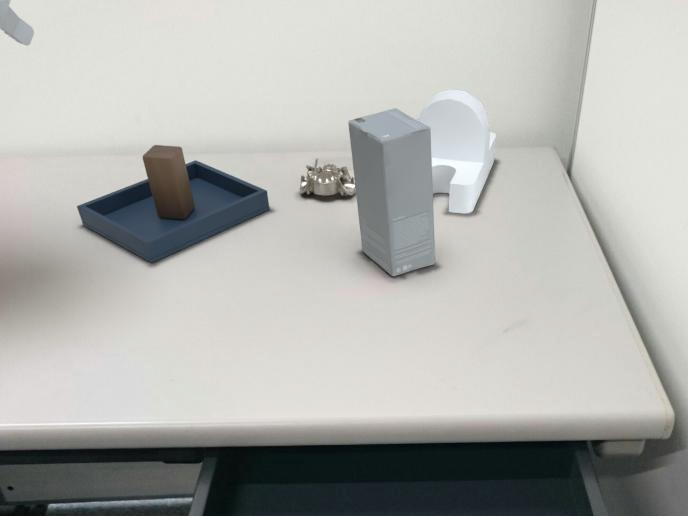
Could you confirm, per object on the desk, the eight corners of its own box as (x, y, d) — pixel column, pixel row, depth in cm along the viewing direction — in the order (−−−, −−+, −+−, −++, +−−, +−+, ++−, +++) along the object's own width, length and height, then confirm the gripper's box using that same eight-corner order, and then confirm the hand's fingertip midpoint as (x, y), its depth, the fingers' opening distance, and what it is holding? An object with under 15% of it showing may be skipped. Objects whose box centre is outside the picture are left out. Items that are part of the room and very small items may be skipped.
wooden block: (168, 205, 100) (153, 143, 94) (196, 207, 99) (182, 145, 93) (157, 218, 97) (140, 155, 91) (185, 221, 97) (170, 157, 91)
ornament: (359, 182, 106) (358, 156, 103) (352, 203, 101) (350, 176, 99) (305, 180, 106) (302, 154, 104) (296, 201, 102) (293, 174, 99)
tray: (83, 225, 98) (76, 205, 96) (199, 178, 107) (195, 159, 105) (152, 263, 91) (146, 243, 89) (269, 209, 100) (267, 190, 98)
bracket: (430, 152, 113) (432, 68, 104) (495, 159, 111) (502, 74, 102) (399, 206, 101) (398, 116, 92) (471, 214, 99) (477, 123, 90)
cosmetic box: (436, 266, 90) (440, 127, 78) (385, 280, 88) (382, 140, 76) (402, 237, 95) (401, 103, 83) (354, 251, 92) (345, 114, 80)
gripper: (-85, -110, 56) (71, 15, 68) (-187, -133, 65) (-33, -19, 77) (-112, -27, 57) (47, 81, 70) (-209, -61, 66) (-54, 40, 79)
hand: (4, 28), depth 73 cm, fingers open, 8 cm apart
